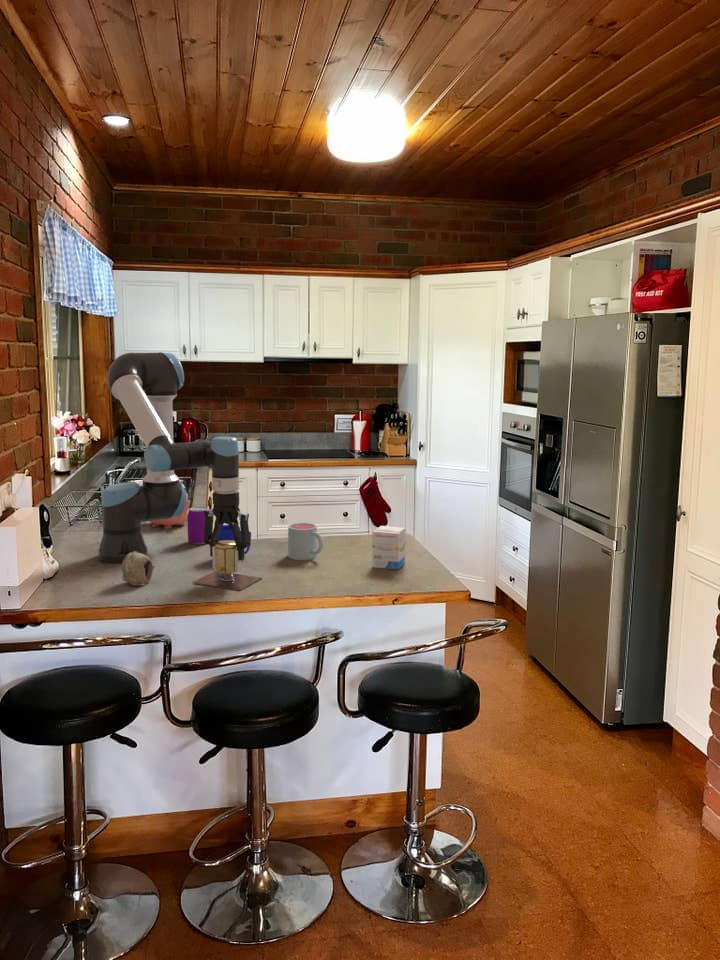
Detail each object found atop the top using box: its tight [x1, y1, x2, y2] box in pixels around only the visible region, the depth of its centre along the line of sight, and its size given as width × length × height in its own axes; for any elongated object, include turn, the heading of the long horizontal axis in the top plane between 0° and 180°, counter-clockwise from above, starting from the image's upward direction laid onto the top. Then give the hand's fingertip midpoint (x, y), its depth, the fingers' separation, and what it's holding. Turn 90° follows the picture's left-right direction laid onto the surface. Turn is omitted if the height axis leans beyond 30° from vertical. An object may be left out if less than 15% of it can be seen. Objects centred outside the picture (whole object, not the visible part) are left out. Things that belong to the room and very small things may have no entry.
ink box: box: [371, 525, 406, 571], centre depth 240 cm, size 9×8×12 cm
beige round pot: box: [121, 551, 155, 586], centre depth 220 cm, size 9×8×10 cm
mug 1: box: [218, 524, 252, 555], centre depth 245 cm, size 8×12×10 cm
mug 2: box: [287, 522, 324, 561], centre depth 247 cm, size 14×9×10 cm
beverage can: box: [186, 506, 208, 546], centre depth 264 cm, size 8×8×12 cm
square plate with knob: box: [192, 570, 263, 592], centre depth 222 cm, size 16×12×6 cm
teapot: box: [149, 492, 192, 530], centre depth 287 cm, size 16×17×14 cm
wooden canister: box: [214, 540, 237, 574], centre depth 221 cm, size 7×9×8 cm
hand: (227, 569), depth 222 cm, fingers closed on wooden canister, 7 cm apart
